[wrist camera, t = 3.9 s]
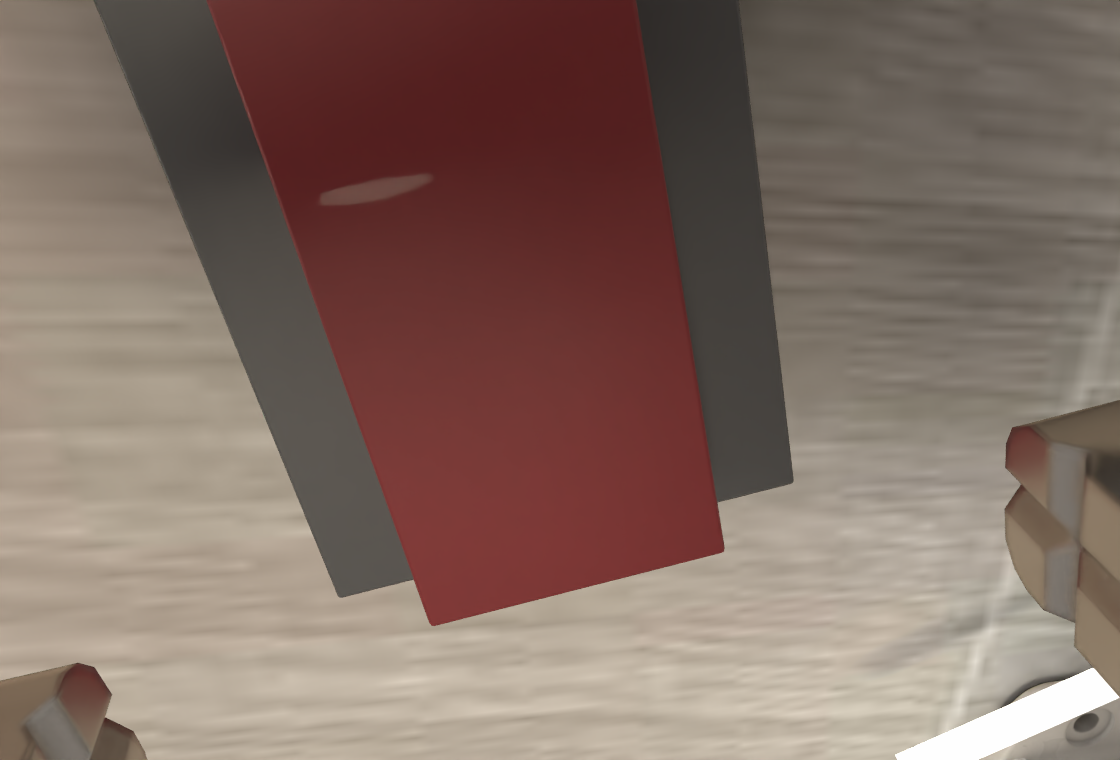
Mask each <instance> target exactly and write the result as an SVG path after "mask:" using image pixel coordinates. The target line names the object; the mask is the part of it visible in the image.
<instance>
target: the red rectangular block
mask: <svg viewBox="0 0 1120 760" xmlns="http://www.w3.org/2000/svg"><path fill="white" fill-rule="evenodd" d="M206 1H207V4H208V7H209V10H210V13H211V15H212V18H213V21H214V24H215V26H216V29H217V32H218V35H219V38H220V40H221V43H222V46H223V49H224V52H225V54H226V57H227V60H228V63H229V66H230V68H231V71H232V74H233V77H234V79H235V82H236V85H237V88H238V91H239V93H240V96H241V99H242V102H243V105H244V107H245V110H246V113H247V116H248V118H249V121H250V124H251V127H252V130H253V132H254V135H255V138H256V141H257V144H258V146H259V149H260V152H261V155H262V158H263V160H264V163H265V166H266V169H267V171H268V174H269V177H270V180H271V183H272V185H273V188H274V191H275V194H276V197H277V199H278V202H279V205H280V208H281V211H282V213H283V216H284V219H285V222H286V224H287V227H288V230H289V233H290V236H291V238H292V241H293V244H294V247H295V250H296V252H297V255H298V258H299V261H300V263H301V266H302V269H303V272H304V275H305V277H306V280H307V283H308V286H309V289H310V291H311V294H312V297H313V300H314V303H315V305H316V308H317V311H318V314H319V316H320V319H321V322H322V325H323V328H324V330H325V333H326V336H327V339H328V342H329V344H330V347H331V350H332V353H333V355H334V358H335V361H336V364H337V367H338V369H339V372H340V375H341V378H342V381H343V383H344V386H345V389H346V392H347V395H348V397H349V400H350V403H351V406H352V408H353V411H354V414H355V417H356V420H357V422H358V425H359V428H360V431H361V434H362V436H363V439H364V442H365V445H366V448H367V450H368V453H369V456H370V459H371V461H372V464H373V467H374V470H375V473H376V475H377V478H378V481H379V484H380V487H381V489H382V492H383V495H384V498H385V500H386V503H387V506H388V509H389V512H390V514H391V517H392V520H393V523H394V526H395V528H396V531H397V534H398V537H399V540H400V542H401V545H402V548H403V551H404V553H405V556H406V559H407V562H408V565H409V567H410V570H411V573H412V576H413V579H414V581H415V584H416V587H417V590H418V592H419V595H420V598H421V601H422V604H423V606H424V609H425V612H426V615H427V618H428V620H429V623H430V624H431V625H432V626H436V625H440V624H444V623H448V622H452V621H456V620H459V619H463V618H467V617H471V616H475V615H479V614H483V613H487V612H491V611H495V610H499V609H503V608H507V607H511V606H514V605H518V604H522V603H526V602H530V601H534V600H538V599H542V598H546V597H550V596H554V595H558V594H562V593H566V592H569V591H573V590H577V589H581V588H585V587H589V586H593V585H597V584H601V583H605V582H609V581H613V580H617V579H621V578H624V577H628V576H632V575H636V574H640V573H644V572H648V571H652V570H656V569H660V568H664V567H668V566H672V565H676V564H679V563H683V562H687V561H691V560H695V559H699V558H703V557H707V556H711V555H715V554H719V553H722V552H724V548H725V547H724V541H723V535H722V529H721V523H720V516H719V510H718V504H717V498H716V492H715V486H714V479H713V473H712V467H711V461H710V455H709V448H708V442H707V436H706V430H705V424H704V417H703V411H702V405H701V399H700V393H699V386H698V380H697V374H696V368H695V362H694V356H693V349H692V343H691V337H690V331H689V325H688V318H687V312H686V306H685V300H684V294H683V287H682V281H681V275H680V269H679V263H678V256H677V250H676V244H675V238H674V232H673V226H672V219H671V213H670V207H669V201H668V195H667V188H666V182H665V176H664V170H663V164H662V157H661V151H660V145H659V139H658V133H657V126H656V120H655V114H654V108H653V102H652V96H651V89H650V83H649V77H648V71H647V65H646V58H645V52H644V46H643V40H642V34H641V27H640V21H639V15H638V9H637V3H636V0H206Z"/></svg>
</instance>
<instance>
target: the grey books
mask: <svg viewBox="0 0 1120 760" xmlns="http://www.w3.org/2000/svg"><path fill="white" fill-rule="evenodd" d="M94 2H95V5H96V7H97V10H98V12H99V14H100V17H101V19H102V22H103V24H104V27H105V29H106V32H107V34H108V36H109V39H110V41H111V44H112V46H113V49H114V51H115V53H116V56H117V58H118V61H119V63H120V66H121V68H122V71H123V73H124V75H125V78H126V80H127V83H128V85H129V88H130V90H131V92H132V95H133V97H134V100H135V102H136V105H137V107H138V110H139V112H140V114H141V117H142V119H143V122H144V124H145V127H146V129H147V131H148V134H149V136H150V139H151V141H152V144H153V146H154V149H155V151H156V153H157V156H158V158H159V161H160V163H161V166H162V168H163V170H164V173H165V175H166V178H167V180H168V183H169V185H170V188H171V190H172V192H173V195H174V197H175V200H176V202H177V205H178V207H179V209H180V212H181V214H182V217H183V219H184V222H185V224H186V227H187V229H188V231H189V234H190V236H191V239H192V241H193V244H194V246H195V248H196V251H197V253H198V256H199V258H200V261H201V263H202V266H203V268H204V270H205V273H206V275H207V278H208V280H209V283H210V285H211V288H212V290H213V292H214V295H215V297H216V300H217V302H218V305H219V307H220V309H221V312H222V314H223V317H224V319H225V322H226V324H227V327H228V329H229V331H230V334H231V336H232V339H233V341H234V344H235V346H236V348H237V351H238V353H239V356H240V358H241V361H242V363H243V366H244V368H245V370H246V373H247V375H248V378H249V380H250V383H251V385H252V387H253V390H254V392H255V395H256V397H257V400H258V402H259V405H260V407H261V409H262V412H263V414H264V417H265V419H266V422H267V424H268V426H269V429H270V431H271V434H272V436H273V439H274V441H275V444H276V446H277V448H278V451H279V453H280V456H281V458H282V461H283V463H284V465H285V468H286V470H287V473H288V475H289V478H290V480H291V483H292V485H293V487H294V490H295V492H296V495H297V497H298V500H299V502H300V504H301V507H302V509H303V512H304V514H305V517H306V519H307V522H308V524H309V526H310V529H311V531H312V534H313V536H314V539H315V541H316V543H317V546H318V548H319V551H320V553H321V556H322V558H323V561H324V563H325V565H326V568H327V570H328V573H329V575H330V578H331V580H332V582H333V585H334V587H335V590H336V592H337V595H338V596H339V597H340V598H342V597H346V596H350V595H354V594H358V593H362V592H366V591H370V590H374V589H378V588H382V587H386V586H390V585H394V584H397V583H401V582H405V581H409V580H413V576H412V573H411V570H410V567H409V565H408V562H407V559H406V556H405V553H404V551H403V548H402V545H401V542H400V540H399V537H398V534H397V531H396V528H395V526H394V523H393V520H392V517H391V514H390V512H389V509H388V506H387V503H386V500H385V498H384V495H383V492H382V489H381V487H380V484H379V481H378V478H377V475H376V473H375V470H374V467H373V464H372V461H371V459H370V456H369V453H368V450H367V448H366V445H365V442H364V439H363V436H362V434H361V431H360V428H359V425H358V422H357V420H356V417H355V414H354V411H353V408H352V406H351V403H350V400H349V397H348V395H347V392H346V389H345V386H344V383H343V381H342V378H341V375H340V372H339V369H338V367H337V364H336V361H335V358H334V355H333V353H332V350H331V347H330V344H329V342H328V339H327V336H326V333H325V330H324V328H323V325H322V322H321V319H320V316H319V314H318V311H317V308H316V305H315V303H314V300H313V297H312V294H311V291H310V289H309V286H308V283H307V280H306V277H305V275H304V272H303V269H302V266H301V263H300V261H299V258H298V255H297V252H296V250H295V247H294V244H293V241H292V238H291V236H290V233H289V230H288V227H287V224H286V222H285V219H284V216H283V213H282V211H281V208H280V205H279V202H278V199H277V197H276V194H275V191H274V188H273V185H272V183H271V180H270V177H269V174H268V171H267V169H266V166H265V163H264V160H263V158H262V155H261V152H260V149H259V146H258V144H257V141H256V138H255V135H254V132H253V130H252V127H251V124H250V121H249V118H248V116H247V113H246V110H245V107H244V105H243V102H242V99H241V96H240V93H239V91H238V88H237V85H236V82H235V79H234V77H233V74H232V71H231V68H230V66H229V63H228V60H227V57H226V54H225V52H224V49H223V46H222V43H221V40H220V38H219V35H218V32H217V29H216V26H215V24H214V21H213V18H212V15H211V13H210V10H209V7H208V4H207V1H206V0H94ZM636 3H637V9H638V15H639V21H640V27H641V34H642V40H643V46H644V52H645V58H646V65H647V71H648V77H649V83H650V89H651V96H652V102H653V108H654V114H655V120H656V126H657V133H658V139H659V145H660V151H661V157H662V164H663V170H664V176H665V182H666V188H667V195H668V201H669V207H670V213H671V219H672V226H673V232H674V238H675V244H676V250H677V256H678V263H679V269H680V275H681V281H682V287H683V294H684V300H685V306H686V312H687V318H688V325H689V331H690V337H691V343H692V349H693V356H694V362H695V368H696V374H697V380H698V386H699V393H700V399H701V405H702V411H703V417H704V424H705V430H706V436H707V442H708V448H709V455H710V461H711V467H712V473H713V479H714V486H715V492H716V498H717V502H721V501H725V500H729V499H733V498H737V497H741V496H745V495H749V494H753V493H757V492H760V491H764V490H768V489H772V488H776V487H780V486H784V485H788V484H791V483H793V471H792V462H791V453H790V444H789V436H788V427H787V418H786V409H785V401H784V392H783V383H782V375H781V366H780V357H779V348H778V340H777V331H776V322H775V313H774V305H773V296H772V287H771V278H770V270H769V261H768V252H767V244H766V235H765V226H764V217H763V209H762V200H761V191H760V182H759V174H758V165H757V156H756V148H755V139H754V130H753V121H752V113H751V104H750V95H749V86H748V78H747V69H746V60H745V51H744V43H743V34H742V25H741V17H740V8H739V0H636Z"/></svg>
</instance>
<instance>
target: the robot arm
mask: <svg viewBox="0 0 1120 760" xmlns="http://www.w3.org/2000/svg"><path fill="white" fill-rule="evenodd" d="M1005 468H1006V469H1007V470H1008V471H1009V472H1010V473H1011V474H1012V475H1013V476H1014V477H1015V478H1016V479H1017V480H1018V481H1019V482H1020V483H1021V486H1020V487H1019V489H1018V490H1017V492H1016V493H1015V495H1014V496H1013V497H1012V499H1011V500H1010V502H1009V503H1008V505H1007V506H1006V508H1005V536H1006V542H1007V546H1008V549H1009V552H1010V555H1011V559H1012V562H1013V565H1014V568H1015V570H1016V572H1017V574H1018V576H1019V577H1020V579H1021V581H1022V583H1023V584H1024V586H1025V588H1026V590H1027V591H1028V592H1029V593H1030V595H1031V596H1032V597H1033V598H1034V599H1035V601H1036V602H1037V603H1038V604H1039V605H1040V607H1041V608H1042V609H1043V610H1044V611H1047V612H1049V613H1052V614H1054V615H1057V616H1059V617H1062V618H1064V619H1067V620H1069V621H1072V622H1074V623H1075V639H1074V646H1075V648H1076V649H1077V650H1078V651H1079V652H1080V653H1081V654H1082V656H1083V657H1084V658H1085V659H1086V660H1087V661H1088V662H1089V664H1090V665H1091V666H1092V667H1093V668H1091V669H1089V670H1087V671H1085V672H1082V673H1080V674H1078V675H1076V676H1073V677H1071V678H1069V679H1067V680H1063V681H1054V682H1048V683H1043V684H1040V685H1037V686H1035V687H1033V688H1030V689H1029V690H1027V691H1025V692H1024V693H1023V694H1021V695H1020V696H1019V697H1018V698H1016V699H1015V700H1014V701H1013V702H1012V703H1011V704H1010V705H1008V706H1005V707H1003V708H1001V709H999V710H996V711H994V712H992V713H989V714H987V715H985V716H983V717H980V718H978V719H976V720H974V721H971V722H969V723H967V724H965V725H962V726H960V727H958V728H956V729H953V730H951V731H949V732H946V733H944V734H942V735H940V736H937V737H935V738H933V739H931V740H928V741H926V742H924V743H922V744H919V745H917V746H915V747H912V748H910V749H908V750H906V751H903V752H901V753H899V754H897V755H896V758H897V760H1120V400H1117V401H1113V402H1110V403H1106V404H1102V405H1098V406H1094V407H1090V408H1086V409H1082V410H1079V411H1075V412H1071V413H1067V414H1063V415H1059V416H1055V417H1051V418H1047V419H1044V420H1040V421H1036V422H1032V423H1028V424H1024V425H1020V426H1016V427H1012V430H1011V432H1010V435H1009V437H1008V440H1007V443H1006V463H1005ZM111 696H112V694H111V692H110V691H109V689H108V688H107V686H106V685H105V683H104V682H103V680H102V678H101V677H100V675H99V674H98V672H97V671H96V669H95V668H94V667H92V666H88V665H84V664H80V663H75V664H71V665H67V666H62V667H58V668H54V669H49V670H45V671H40V672H36V673H32V674H27V675H23V676H19V677H14V678H10V679H6V680H1V681H0V760H147V757H146V754H145V751H144V749H143V747H142V746H141V744H140V742H139V740H138V739H137V737H136V735H135V733H134V731H132V730H130V729H128V728H126V727H124V726H122V725H120V724H118V723H116V722H114V721H112V720H110V719H107V718H105V715H106V712H107V709H108V706H109V703H110V699H111Z"/></svg>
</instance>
